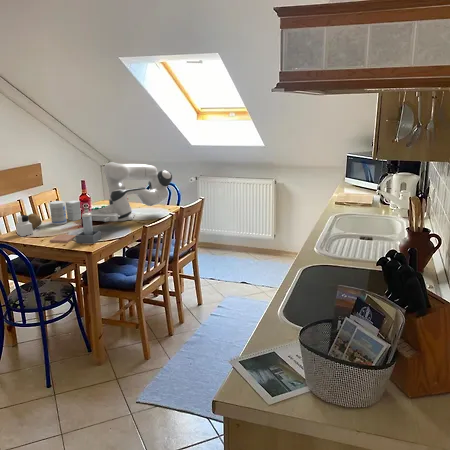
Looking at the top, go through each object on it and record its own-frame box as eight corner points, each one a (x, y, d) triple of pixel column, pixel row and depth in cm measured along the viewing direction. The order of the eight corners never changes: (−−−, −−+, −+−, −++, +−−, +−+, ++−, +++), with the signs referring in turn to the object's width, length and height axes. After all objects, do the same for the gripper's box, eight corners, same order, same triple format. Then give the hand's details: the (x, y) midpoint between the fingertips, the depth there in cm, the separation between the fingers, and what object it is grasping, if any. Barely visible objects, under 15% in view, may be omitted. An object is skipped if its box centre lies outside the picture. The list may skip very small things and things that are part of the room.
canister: (86, 239, 260) (84, 212, 256) (95, 239, 260) (92, 213, 255) (82, 241, 255) (80, 215, 251) (91, 242, 255) (88, 215, 250)
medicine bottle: (28, 232, 276) (26, 213, 272) (33, 234, 271) (30, 215, 267) (17, 234, 271) (14, 215, 268) (21, 236, 266) (18, 217, 263)
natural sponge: (23, 229, 281) (21, 214, 278) (33, 226, 289) (31, 211, 286) (34, 231, 278) (32, 215, 275) (44, 227, 286) (42, 212, 283)
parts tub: (84, 237, 263) (83, 230, 262) (101, 238, 262) (100, 231, 261) (76, 242, 253) (75, 235, 252) (93, 243, 252) (93, 236, 251)
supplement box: (76, 217, 311) (74, 200, 308) (82, 218, 307) (80, 201, 303) (67, 219, 305) (65, 201, 302) (73, 221, 301) (71, 203, 298)
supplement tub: (68, 224, 294) (66, 202, 290) (53, 226, 289) (51, 204, 285) (64, 220, 302) (62, 200, 298) (50, 223, 297) (47, 201, 293)
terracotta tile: (59, 236, 266) (59, 234, 266) (76, 237, 264) (76, 235, 264) (50, 241, 255) (49, 240, 255) (67, 242, 254) (67, 240, 254)
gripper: (121, 219, 279) (113, 225, 266) (91, 219, 282) (81, 224, 268) (121, 210, 277) (112, 215, 264) (90, 209, 280) (80, 214, 267)
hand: (96, 220), depth 266 cm, fingers open, 8 cm apart
